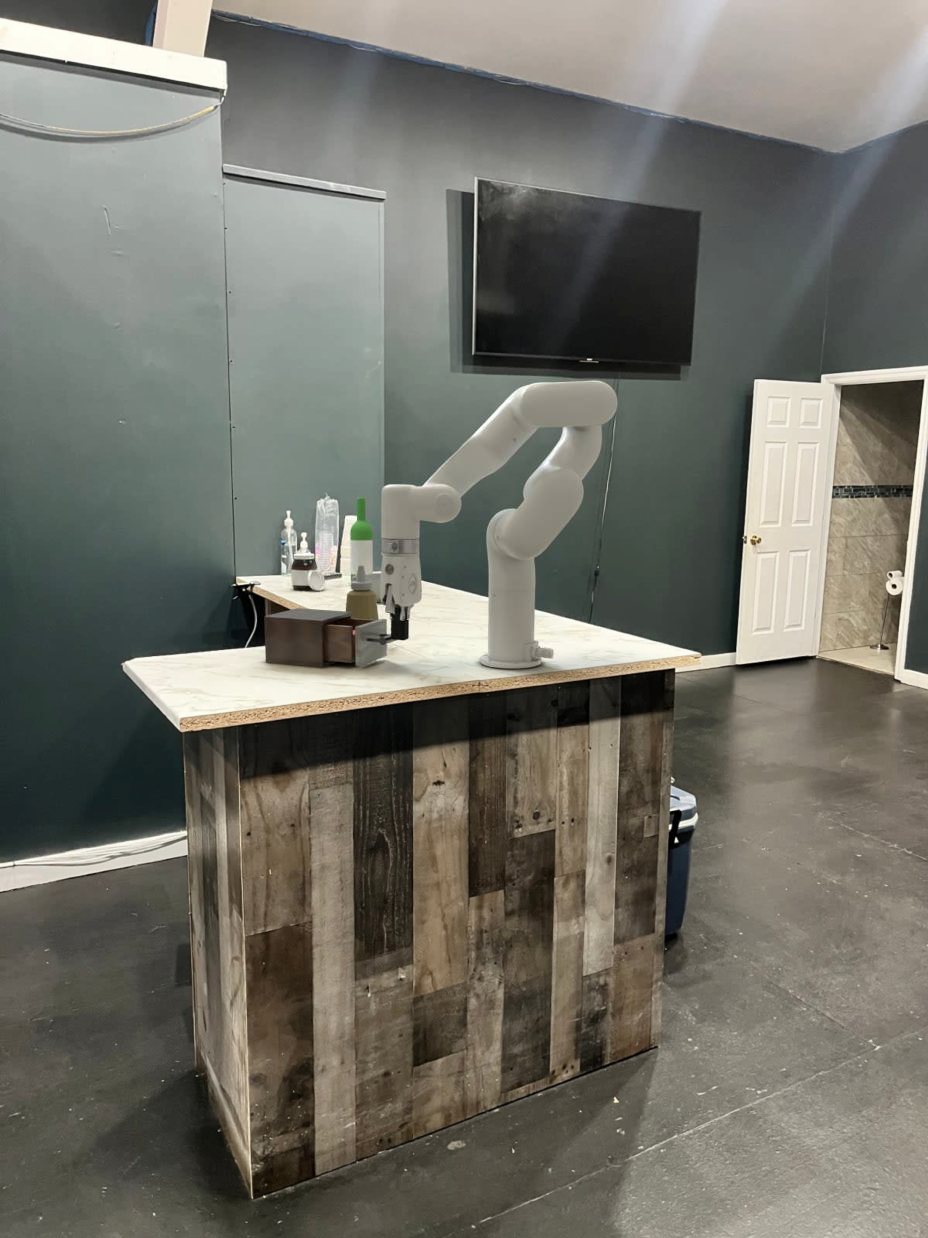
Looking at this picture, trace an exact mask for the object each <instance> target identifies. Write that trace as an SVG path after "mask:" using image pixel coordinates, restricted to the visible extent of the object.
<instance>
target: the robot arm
mask: <svg viewBox="0 0 928 1238" xmlns="http://www.w3.org/2000/svg"><path fill="white" fill-rule="evenodd" d="M618 401H619V400H618V396H617V393H616V391H615V390H614V389H613V387H612V386H610V385H609V384H608V383H606V382H604V381H601V380H580V381H555V382H553V381H552V382H546V381H545V382H533V383H530V384H526V385H523V386H521V387H519V388H517V389H516V390H514V391H513V392H512V393H511V394H510V395H509V396H508V397H507V398H506V399H505V400H504V401H503V402H502V403H501V404H500V406H498V407H497V409H496V410H495V411H494V412H493V413H492V414H491V416H489V417H488V419H487V420H486V421H485V422H483V424H482V425H481V426H479V428H478V429H477V430H476V431H475V432H474V433H473V434H472V435H471V436H470V437H469V438H468V439H467V440H466V441H465V442H464V443H462V445H461V446H459V448H458V449H457V450H456V451H455V452H454V453H453V454H452V455H451V456H450V457H449V458H448V459H447V460H445V462H444V463H443V464H441V465H440V467H438V469H437V470H436V471H435V472H433V474H432V475H431V476H430V477H429V478H428V480H427V481H425V482H424V484H423V485H421V486H420V485H418V486H417V485H414V484H406V483H405V484H403V483H401V484H400V483H399V484H396V483H395V484H393V483H392V484H391V483H390V484H387V485H384V486H383V487H382V490H381V499H380V500H381V502H380V504H381V505H380V507H381V509H380V511H381V513H380V514H381V516H380V517H381V521H380V523H381V524H380V525H381V526H380V527H381V530H380V531H381V533H380V535H381V536H380V539H381V540H380V544H381V545H380V551H381V552H380V553H381V554H380V555H381V556H382V559H381V569H380V570H381V571H380V573H381V584H380V596H381V602H380V604H382V605H383V606H385V609H384V612H385V613H387V614H389V620H390V634H391V639H393V640H396V641H407V640H409V638H410V631H409V630H410V620H409V619H410V618H411V609H412V608H414V606H415V605H416V604H418V603H420V602H421V601H422V598H423V590H422V589H423V588H422V585H423V584H422V569H421V568H422V567H421V559H420V537H421V536H420V531H421V529H420V525H421V523H420V522H421V521H424V522H432V523H438V524H443V523H448V522H451V521H453V520H454V519H455V518H457V516H458V515H459V513H460V512H461V509H462V497H463V496H464V495H465V494H466V493H467V492H468V491H469V490H471V488H472V487H473V486H475V485H476V484H477V483H479V482H480V481H481V480H482V479H484V478H486V477H488V476H490V475H491V474H495V472H497V471H498V470H500V469H501V468H502V467H503V466H505V464H507V462H508V461H509V460H510V459H511V458H512V457H513V456H514V455H515V453H516V452H517V451H519V449H520V448H521V447H522V446H523V445H524V444H525V443H526V442H527V441H528V440H529V439H530V438H531V437H532V436H533V434H535V432H537V430H538V429H542V428H562V432H561V435H560V438H559V440H558V442H557V443H556V445H555V446H554V447H553V449H552V450H551V451H550V453H549V454H548V455H547V456H546V457H545V459H544V460H543V461H542V462H541V463H540V465H539V466H538V467H537V469H536V470H534V471H533V473H532V474H531V475H530V476H529V477H528V479H527V480H526V482H525V484H524V487H523V491H522V492H523V493H522V495H523V501H522V502H521V503H520V505H519V506H518V507H517V508H506V509H502V510H500V511H499V512H497V513H495V514H494V515H493V517H492V518H491V519H490V520H489V523H488V524H487V525H488V526H487V528H486V536H485V539H486V553H487V564H488V565H487V566H488V594H487V595H488V598H487V600H488V602H487V603H488V604H487V605H488V607H487V608H488V612H487V614H488V615H487V653H485V654H483V655H481V656H480V658H479V660H480V661H479V662H480V664H482V665H484V666H485V667H486V666H487V667H491V668H497V669H509V670H510V669H529V668H534V667H535V668H536V667H538V666H540V665H541V664H542V658H543V659H551V660H552V659H553V658H554V655H555V654H554V653H555V652H554V651H555V650H554V649H553V648H551V647H541V646H540V645H539V640H535V617H536V615H535V614H536V613H535V611H536V610H535V609H536V563H535V558H538V556H540V555H541V554H543V552H544V551H546V550H547V548H548V547H549V546H550V545H551V544H552V542H554V540H555V539H556V538H557V537H558V536H559V534H560V533H561V532H562V530H564V528H565V527H566V525H567V524H568V523H570V521H571V519H572V518H573V517H574V516H575V514H576V513H577V512H578V510H579V509H580V507H581V505H582V502H583V499H584V494H585V493H584V492H585V491H584V490H585V489H584V484H583V480H584V478H585V477H586V476H587V474H588V473H589V472H590V470H591V469H592V467H593V466H594V465H595V463H596V461H597V459H598V458H599V456H600V452H601V450H602V443H603V431H602V429H603V427H602V426H603V425H605V424H606V423H608V422H609V421H610V420H611V419H612V418H613V417H614V416H615V414H616V412H617V409H618V404H619V403H618Z"/></svg>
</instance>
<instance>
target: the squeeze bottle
mask: <svg viewBox="0 0 928 1238" xmlns="http://www.w3.org/2000/svg"><path fill="white" fill-rule="evenodd" d="M370 589H372V582H370V581H367V578H366V574H365V569H364V566H358V571H357V576H356V581H353V582H351V581H350V591H348V592H347V593H346V602H345V611H346V612H353V615H352V616H353V618H358V619H372V620H374V621H376V620H379V619H380V618H379V609H378V602H377V600H376V593H375V592H374V591H371V590H370Z"/></svg>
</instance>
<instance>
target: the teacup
mask: <svg viewBox="0 0 928 1238" xmlns="http://www.w3.org/2000/svg"><path fill="white" fill-rule="evenodd" d="M356 576H357V575H355V576H353V578H352V582H353V581H355V579H356ZM366 578H367V581H370V582H372V589H370V590H371V591H374V592H375V593H376V600H377V603H381V596H380V584H381V572H373V573H370V574H366Z"/></svg>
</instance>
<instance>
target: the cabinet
mask: <svg viewBox="0 0 928 1238" xmlns="http://www.w3.org/2000/svg"><path fill="white" fill-rule="evenodd" d="M352 615H353V612H346V610H330V609H315V608H301V607H296V608H293V609H289V610H284V611H280V612H276V613H272V614H268V615H264V617H263V619H264V620H263V621H264V622H263V623H264V650H265V651H264V652H265V653H264V654H265V663H270V664H281V665H289V666H290V665H291V666H301V667H302V666H303V667H310V668H311V667H313V668H325V667H328V666H331V665H334V664H337V662H336V661H325V660H324V624H325V623H328V622H332V621H335V620H339V619H342V618H353V616H352Z"/></svg>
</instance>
